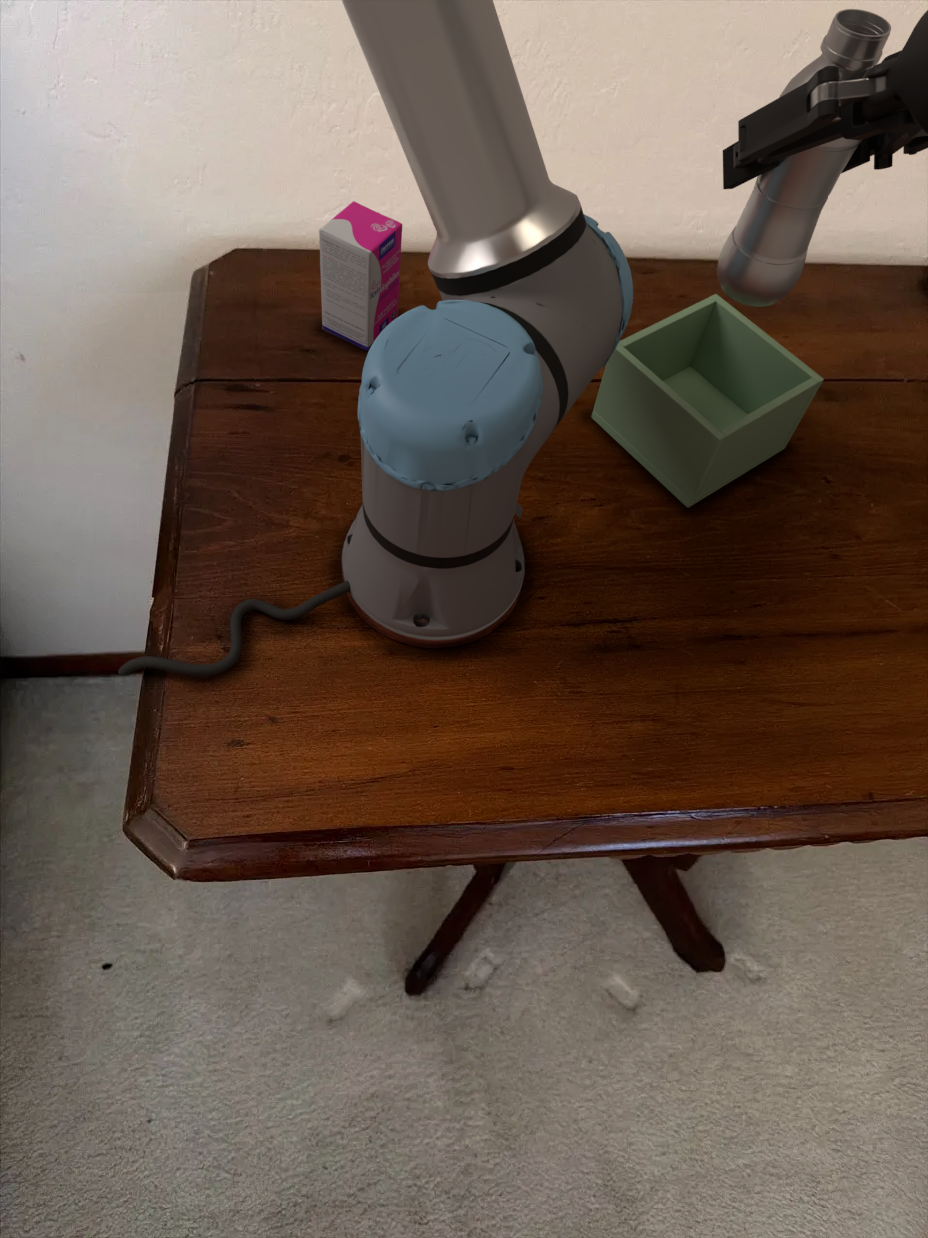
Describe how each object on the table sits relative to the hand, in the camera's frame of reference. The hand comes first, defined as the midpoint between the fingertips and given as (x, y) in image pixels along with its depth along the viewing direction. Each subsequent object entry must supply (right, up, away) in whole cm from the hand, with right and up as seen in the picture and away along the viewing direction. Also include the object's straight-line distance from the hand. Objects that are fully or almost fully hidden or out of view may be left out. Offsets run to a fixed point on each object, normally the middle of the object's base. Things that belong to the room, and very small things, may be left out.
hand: (770, 167), depth 67 cm
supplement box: (-34, -4, +24) cm, 42 cm away
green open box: (-1, -16, +19) cm, 25 cm away
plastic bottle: (0, -8, +5) cm, 9 cm away
